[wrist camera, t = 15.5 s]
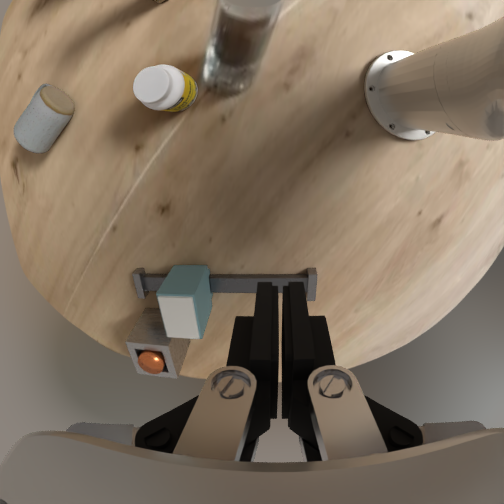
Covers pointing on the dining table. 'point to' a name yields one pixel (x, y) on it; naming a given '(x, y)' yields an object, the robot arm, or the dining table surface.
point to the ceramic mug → (43, 119)
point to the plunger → (151, 361)
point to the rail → (232, 282)
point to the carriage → (185, 301)
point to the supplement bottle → (165, 88)
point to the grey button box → (156, 343)
